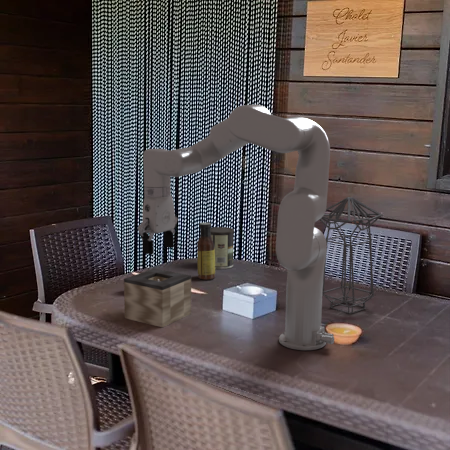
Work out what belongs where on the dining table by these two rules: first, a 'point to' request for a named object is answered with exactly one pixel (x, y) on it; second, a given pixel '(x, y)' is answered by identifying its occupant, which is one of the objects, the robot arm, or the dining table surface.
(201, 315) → the dining table surface
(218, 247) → the coffee can
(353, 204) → the geometric lantern
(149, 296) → the socket
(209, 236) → the sauce bottle
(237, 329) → the dining table surface
